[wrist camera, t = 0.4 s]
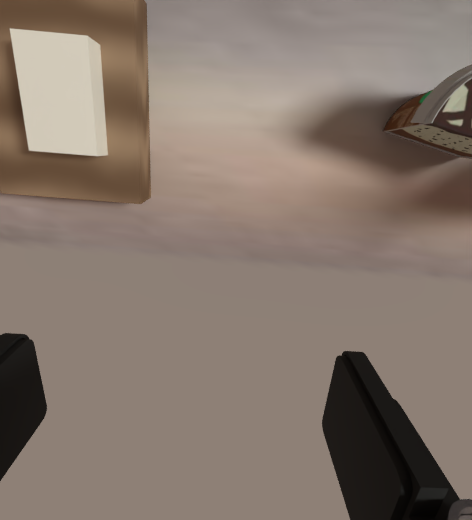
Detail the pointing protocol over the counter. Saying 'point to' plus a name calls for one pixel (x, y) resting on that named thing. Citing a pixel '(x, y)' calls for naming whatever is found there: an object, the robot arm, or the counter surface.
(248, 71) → the counter surface
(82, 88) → the cream rectangular block
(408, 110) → the food container
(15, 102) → the wooden box
